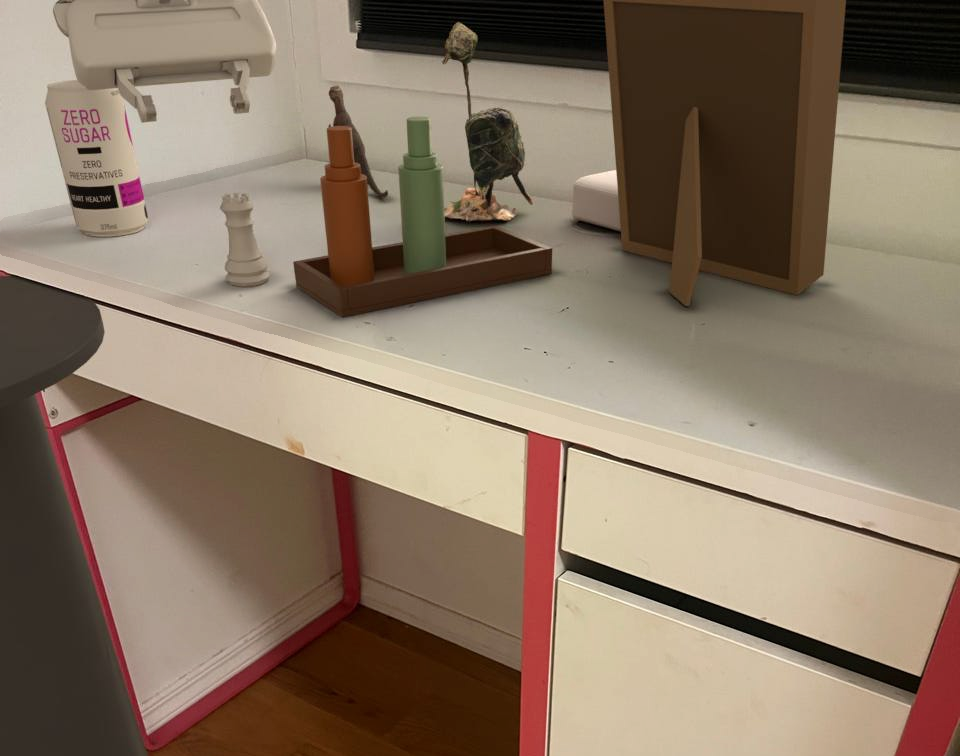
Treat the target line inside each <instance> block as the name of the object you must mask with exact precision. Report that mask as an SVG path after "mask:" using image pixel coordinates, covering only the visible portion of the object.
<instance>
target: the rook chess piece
mask: <svg viewBox="0 0 960 756" xmlns="http://www.w3.org/2000/svg"><path fill="white" fill-rule="evenodd" d="M249 196H250V195H249V194H248V193H245V192H242V193H241V197H240V194H239V192H233V197H231V193H225V194H224V195H222V196H221V199H222V202H221V204H220V206H219V210H220V211H221V212H222V213H223V214H224V215H225V218H226V220H225V223H224V226H225V227H226V228H227V232H228V254H227V256H226V258H227V260H226V261H225V263H224V271H226V272H227V274H225V280H226V281H227V282H228V283H229V284H230V285H232V286H234V287H242V288H243V287H245V288H247V287H255V286H259V285H262V284H265V283H267V281H269V278H270V276H271V272H268V271H267V268H268V265H269V264H268V262H267V260H266V259H265V258H264V257H263V254H262V252H260V250H259V247H258V244H257V241H256V236H255V234H254V233H255V232H254V227H253V226H254V224H255V220H253V219H252V216H251V213H252V211H253V209H254V207H255V204H253V202H252V201H251V200H250V197H249Z"/></svg>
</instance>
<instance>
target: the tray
mask: <svg viewBox="0 0 960 756" xmlns="http://www.w3.org/2000/svg"><path fill="white" fill-rule="evenodd" d="M445 247H446V267H441V268H436V269H430V270H425V271H420V272H415V273H410V274H404V257H403V241H401V242H400V241H399V242H395V243H389V244H384V245H383V244H382V245H378V246H372V252H373V265H374V278H375V280H374V281H369V282H364V283H358V284H353V285H348V286H342V285H340V284H339V283H337V282H335V281H334V280H332V279H331V277H330V268H329V258H328V254H327V255H322V256H316V257H310V258H305V259H301V260H295V261H293V262H292V263H293V271H294V279H295V288H297V289H299V291H301V292H303V293H304V294H306V295H308V297H311V298H312V299H314V300H315V301H317V302H318V303H320V304H322V305H323V306H324V307H326V308H327V309H329V310H331V311H332V312H334V313H335V314H336V315H338V316H340V317H342V318H345V317H350V316H355V315H360V314H364V313H370V312H374V311H379V310H384V309H388V308H393V307H397V306H403V305H407V304H412V303H417V302H422V301H427V300H431V299H436V298H441V297H446V296H450V295H456V294H460V293H465V292H470V291H474V290H480V289H484V288H489V287H493V286H494V287H495V286H499V285H503V284H508V283H513V282H518V281H523V280H527V279H531V278H538V277H541V276H546V275H550V274H552V270H553V247H550V246H548V245H545V244H543V243H540V242H538V241H535V240H533V239H530V238H528V237H525V236H523V235H520V234H518V233H515V232H513V231H511V230H509V229H505V228H503V227H500V226H498V225H491V226H490V225H489V226H484V227H480V228H479V227H478V228H473V229H468V230H463V231H462V230H461V231H457V232H451V233H445Z"/></svg>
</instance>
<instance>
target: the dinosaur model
mask: <svg viewBox="0 0 960 756" xmlns="http://www.w3.org/2000/svg"><path fill="white" fill-rule="evenodd" d="M328 96H329V99H330V100H331V101H332V102H333V106H334V111H335V116H334V118H333V122H332V125H331V123H329V124H328V126H327V128H328V127H332V126H349V127H351V128H352V139H353V151H354V162H355V163H359V164H360V168H361V174H363V175H366V177H367V186H369V188H370V189H371V191H372V192H373V193H374V194H375V195H376V196H378V197H379V198H380V199H385V198H387V196H388V195H389V191H388V190H387V189H386V190H385V191H384V192H382V191H381V190H380V189H379V187H378V186H377V183H376V181H375V180H374V177H373V175H372V172H371V169H370V167H369V163H368V160H367V157H366V147H365V144H364V142H363V140H362V137H361V135H360V132H359V131H358V130H357V128H356V126H355V125H354V124H353V121H352V118H351V116H350V114H349V113H348V112H347V110H346V105H345V101H344V92H343V89H342V88H341V86H339V85H333V86H330V88H329V90H328Z"/></svg>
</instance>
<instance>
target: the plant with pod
mask: <svg viewBox="0 0 960 756" xmlns="http://www.w3.org/2000/svg"><path fill="white" fill-rule="evenodd" d="M478 40H479V38H478V35H477V34H476V32H473V30H471V29H470V28H468V27H467V26H465V24H463V23H462V22H459V21H458V22H456V23H455V24H454V25H453V26H452V28H451V31H450V32H449V36H448V38H447V39H446V41H445V44H444V51H445V52H446V53H445V55H444V59H443V60H442V62H441V64H442V65H446V64H447V63H448V61H449V60H452V61H456V62H457V61H458V62H460V63H461V64H462V69H463V77H464V85H465V87H466V100H467V113H468V118H467V119H466V121H465V124H464V131H465V137H466V144H467V148H468V157H469V158H468V159H469V165H470V168H471V170H472V172H473V187H474V188H471V187H467V188H466V190H465V194H463V195H462V196H461V198H460V199H459V200H458V201H450V200H449V202H450V204H448V206H447V207H444V216H445V218H449V219H461V220H462V221H464V220H466V222H471V221H477V222H478V221H479V222H487V221H505V222H509V221H511V220H512V219H513V218H514V217H516V216H517V215H518V210H517V209H516V208H515V207H514V208H511V207H509V205H507V204H503V205H501V204H500V203H499V202H498V201H497V198H496V196H495V195H494V194H493V188H494V183H495V181H497V180H498V181H502V180H504V179H506V178H508V177H510V176H512V179H513V181H514V183H515V185H516V187H517V188H518V190H519V192H520V193H521V195H522V196H523V197H524V199H525V200H526V201H527V202H528V204H530V205H533V204H534V201H533V198H532V197H531V196H530V195H529V193H527V191H526V189H525V187H524V185H523V182H522V181H521V179H520V177H519V173H520V172H521V171H522V170H523V169H524V166H525V161H526V151H525V147H524V146H525V145H524V144H525V143H524V142H523V140H522V135H521V132H520V128H519V124H518V121H517V118H516V117H515V115H514V112H513V111H511V110H510V109H509V108H507V107H506V106H495V107H492V108H491V107H490V108H488V109H485V110H484V109H482V110H480V111H478V112H476V113H475V112H473V113H472V101H471V100H472V99H471V91H470V85H469V80H470V78H469V75H470V72H469V66H468V64H470V63H471V62H472V60H473V56H474V54H475V51H476V47H477V43H478ZM476 186H478V189H477V187H476Z"/></svg>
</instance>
